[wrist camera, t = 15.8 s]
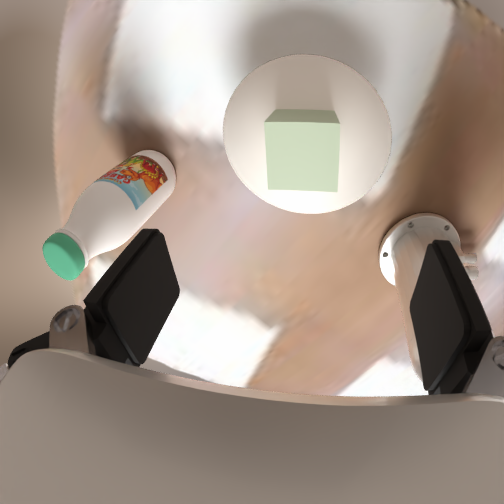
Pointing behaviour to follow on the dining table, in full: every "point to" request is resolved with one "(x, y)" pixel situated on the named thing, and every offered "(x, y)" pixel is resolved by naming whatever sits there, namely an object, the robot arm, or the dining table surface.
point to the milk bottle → (110, 212)
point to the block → (302, 150)
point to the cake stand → (309, 98)
